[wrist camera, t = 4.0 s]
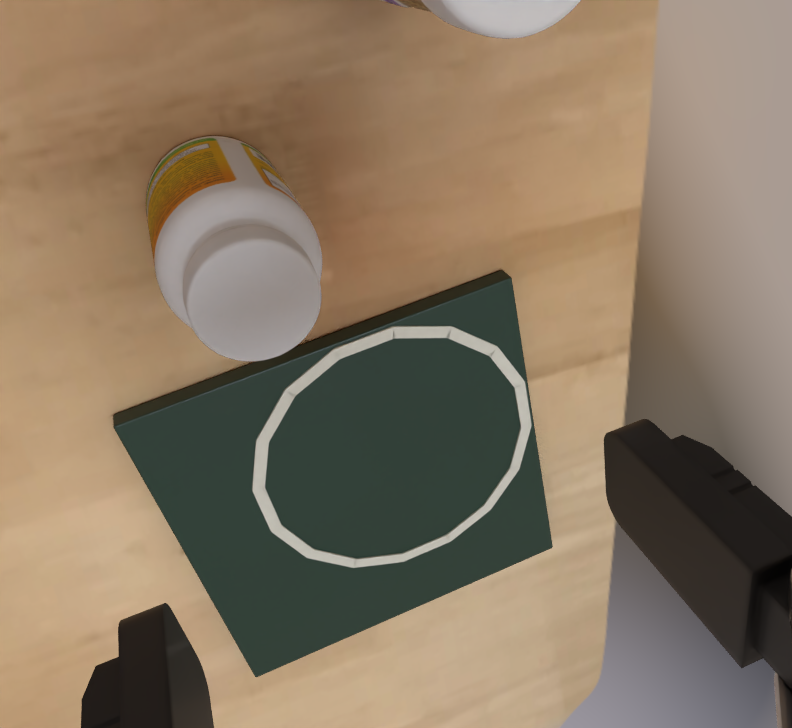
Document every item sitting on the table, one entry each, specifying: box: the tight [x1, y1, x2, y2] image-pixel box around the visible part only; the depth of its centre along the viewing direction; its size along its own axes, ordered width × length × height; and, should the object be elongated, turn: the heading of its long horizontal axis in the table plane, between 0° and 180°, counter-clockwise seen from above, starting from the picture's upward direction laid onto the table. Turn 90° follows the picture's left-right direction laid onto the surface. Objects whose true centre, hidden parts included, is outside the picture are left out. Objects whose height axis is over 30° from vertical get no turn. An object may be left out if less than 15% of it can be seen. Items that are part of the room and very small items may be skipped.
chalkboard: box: [113, 270, 553, 677], centre depth 39 cm, size 19×19×1 cm
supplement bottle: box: [146, 136, 322, 361], centre depth 26 cm, size 5×5×10 cm
